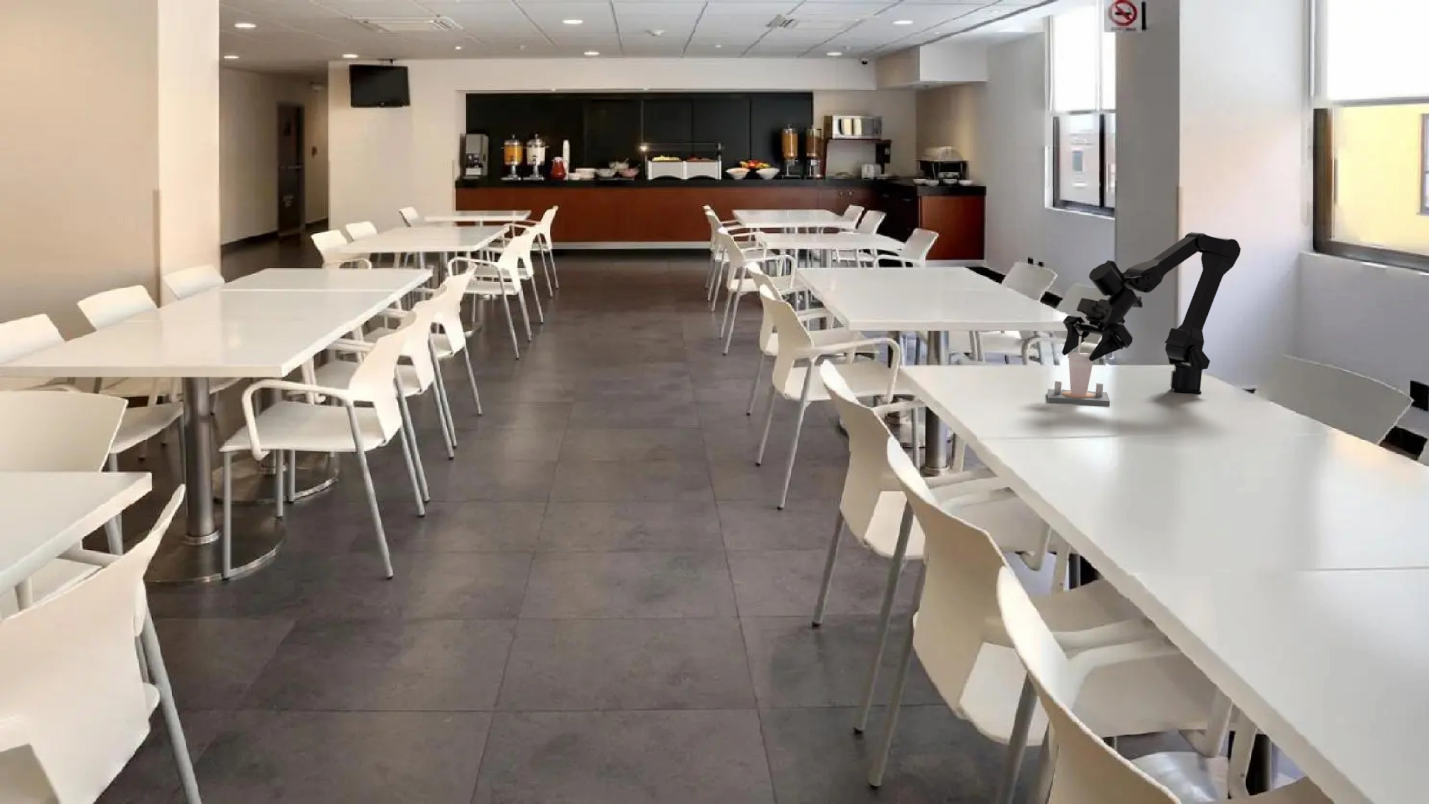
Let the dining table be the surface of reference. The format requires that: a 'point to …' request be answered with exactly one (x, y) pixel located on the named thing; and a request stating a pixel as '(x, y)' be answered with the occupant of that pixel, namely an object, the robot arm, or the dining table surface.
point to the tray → (1078, 396)
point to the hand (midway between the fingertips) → (1076, 356)
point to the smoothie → (1079, 371)
